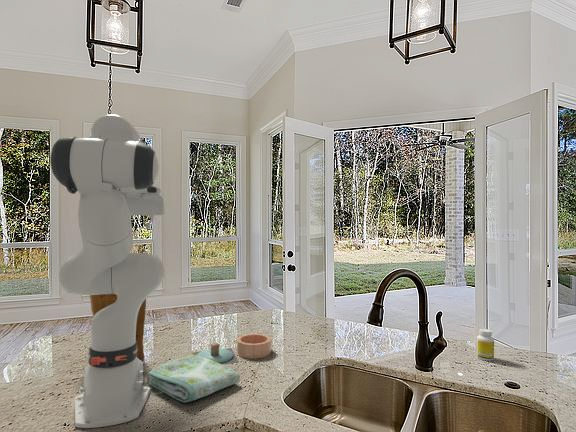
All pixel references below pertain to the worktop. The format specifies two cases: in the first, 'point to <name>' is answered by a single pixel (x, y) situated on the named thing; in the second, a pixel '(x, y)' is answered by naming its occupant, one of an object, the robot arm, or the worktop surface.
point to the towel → (192, 377)
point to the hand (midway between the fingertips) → (133, 228)
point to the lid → (216, 354)
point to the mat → (233, 360)
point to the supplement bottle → (485, 345)
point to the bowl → (253, 345)
